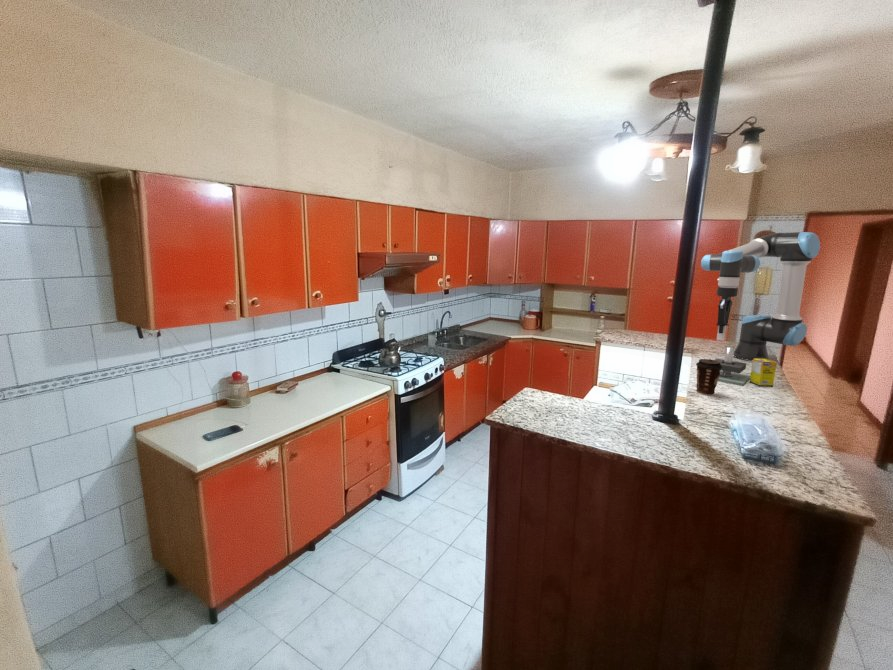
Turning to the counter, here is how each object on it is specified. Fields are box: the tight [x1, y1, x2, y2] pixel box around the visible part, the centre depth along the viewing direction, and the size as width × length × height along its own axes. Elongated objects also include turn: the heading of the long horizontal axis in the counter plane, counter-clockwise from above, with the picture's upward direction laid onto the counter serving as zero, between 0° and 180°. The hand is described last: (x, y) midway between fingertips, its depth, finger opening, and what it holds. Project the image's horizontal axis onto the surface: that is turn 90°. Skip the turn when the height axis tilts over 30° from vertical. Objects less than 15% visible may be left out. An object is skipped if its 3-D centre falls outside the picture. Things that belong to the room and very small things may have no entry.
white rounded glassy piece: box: [720, 346, 736, 377], centre depth 186 cm, size 4×4×13 cm
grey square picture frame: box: [714, 358, 747, 374], centre depth 186 cm, size 11×11×2 cm
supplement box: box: [748, 358, 778, 388], centre depth 177 cm, size 6×6×11 cm
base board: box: [718, 370, 751, 387], centre depth 187 cm, size 16×16×1 cm
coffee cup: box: [695, 358, 722, 396], centre depth 166 cm, size 9×8×13 cm
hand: (720, 339), depth 187 cm, fingers closed
